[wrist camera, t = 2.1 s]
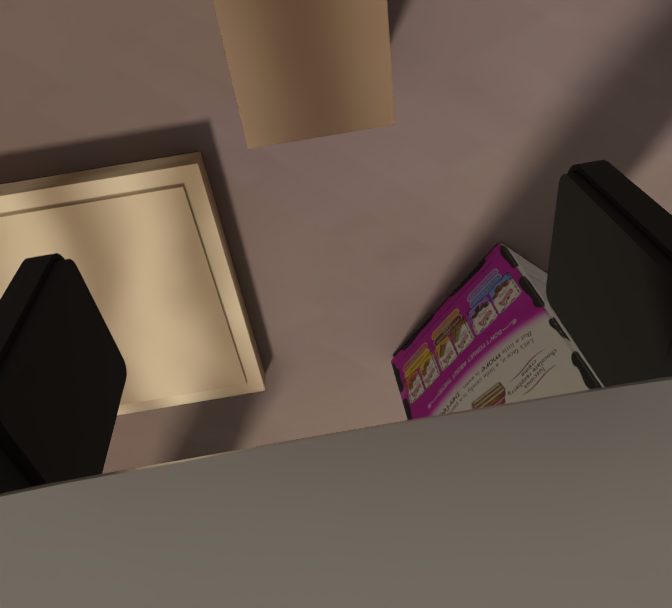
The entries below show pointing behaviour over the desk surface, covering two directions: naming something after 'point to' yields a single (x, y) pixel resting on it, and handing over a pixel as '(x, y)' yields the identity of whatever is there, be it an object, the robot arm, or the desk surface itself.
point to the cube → (307, 66)
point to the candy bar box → (491, 344)
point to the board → (145, 273)
